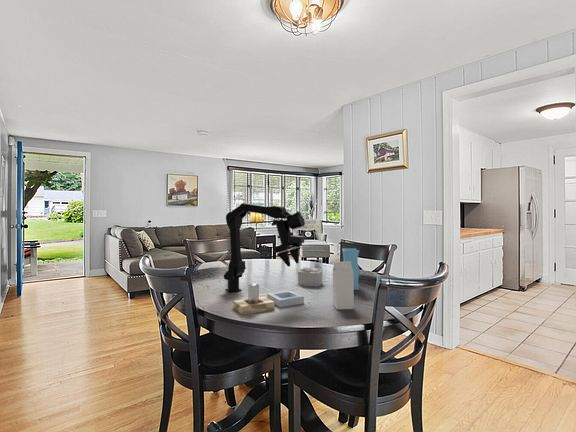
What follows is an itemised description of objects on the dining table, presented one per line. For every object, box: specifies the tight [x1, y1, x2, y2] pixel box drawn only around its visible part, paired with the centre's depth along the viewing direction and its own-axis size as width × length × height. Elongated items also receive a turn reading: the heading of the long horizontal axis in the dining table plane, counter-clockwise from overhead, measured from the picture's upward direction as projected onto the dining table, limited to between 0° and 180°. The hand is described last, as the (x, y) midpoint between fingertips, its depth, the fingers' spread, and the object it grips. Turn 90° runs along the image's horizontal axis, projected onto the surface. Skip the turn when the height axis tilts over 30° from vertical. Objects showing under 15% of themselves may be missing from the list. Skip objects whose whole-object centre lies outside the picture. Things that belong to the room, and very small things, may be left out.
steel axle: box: [247, 282, 260, 304], centre depth 136 cm, size 4×4×10 cm
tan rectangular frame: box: [232, 295, 276, 316], centre depth 136 cm, size 10×14×3 cm
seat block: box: [266, 290, 305, 308], centre depth 146 cm, size 12×12×3 cm
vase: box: [341, 247, 361, 291], centre depth 170 cm, size 8×8×20 cm
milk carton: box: [332, 261, 355, 311], centre depth 137 cm, size 7×7×19 cm
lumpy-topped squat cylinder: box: [297, 266, 323, 287], centre depth 180 cm, size 10×13×9 cm
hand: (293, 264), depth 152 cm, fingers open, 9 cm apart
